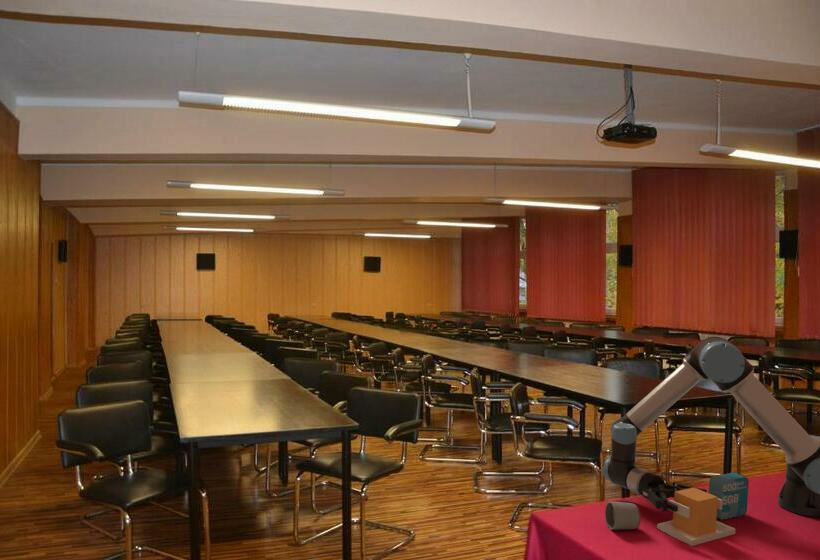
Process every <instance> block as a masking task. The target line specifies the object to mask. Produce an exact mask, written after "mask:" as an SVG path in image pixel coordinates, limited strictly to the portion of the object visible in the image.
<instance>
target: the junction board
mask: <svg viewBox="0 0 820 560" xmlns="http://www.w3.org/2000/svg"><path fill="white" fill-rule="evenodd" d="M657 528H658V529H660V530H661V531H660V530H659V531H660V532H662V531H663V533H664V532H665V534H666V533H667V535H669V536H670V537H673V538H675V539H677V540H679V541H681V542H682V543H686V544H687V545H689V546H691V547H692V546H693V547H694V546H698V545H700V544H703V543H704V544H705V543H707V542H710V541H714V540H717V539H722V538H725V537H728V536H732V535H735V534H736V528H735V527H732V526H730V525H727V524H725V523H723V522H721V521H718V520H716V532H713V533H709V534H706V535H702V536H698V537H695V536H693V535H691V534H689V533H687V532H685V531H683V530H681V529H678V528H676V527H674V526H673V519H671V520H668V521H663V522H660V523H657V525H656V529H657ZM658 529H657V530H658Z"/></svg>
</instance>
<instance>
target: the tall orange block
mask: <svg viewBox="0 0 820 560" xmlns="http://www.w3.org/2000/svg"><path fill="white" fill-rule="evenodd" d="M692 487H693V488H689V489H684V490H680V491H675V494H674V498H673V501H675V502H677V503H680V504H682V505H684V506H687V507H689V508H690V517H689V518H686V517H684V516H682V515H680V514H677V513H675V512H673V515H672V518H673V519H672V520H673V526H674V527H676V528H678V529H681V530H683V531H685V532H687V533H689V534H691V535H693V536H695V537H698V536H702V535H706V534H709V533H713V532H716V521H717V519H718V518H717V500H718V497H717V496H714V495H712V494H709V492H708V491H707V492H704V491H701V490H699V489H696V488H697V487H696V488H694V486H692Z"/></svg>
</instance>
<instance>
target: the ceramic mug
mask: <svg viewBox="0 0 820 560" xmlns="http://www.w3.org/2000/svg"><path fill="white" fill-rule="evenodd" d="M604 509H605V510H604V519H605V523H606V526H607V528H608V527H609V528H608V529H609V530H611V531H616V530H617V531H619V530H620V531H622V530H636V529H638V528H639V527H640V525H641V521H642V520H641V518H642V517H641V515H642V514H641V511H640V508H639V506H638V505H636V504H635V503H631V502H621V501H608V502H607V503H606V505H605V508H604Z"/></svg>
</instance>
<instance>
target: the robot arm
mask: <svg viewBox="0 0 820 560" xmlns="http://www.w3.org/2000/svg"><path fill="white" fill-rule="evenodd" d="M754 372H755V367H754V366H753V365H752V363H750V362H749V360H747V358H746V357H745V356H744V354H742V352H741V350H740V349H739V348H738V347H737V346H736V345H734V344H732V343H731V342H730V341H729V340H727V339H726V338H724V337H720V336H709V337H706V338H704V339H702V340H701V341H700V342H699V343H697V344H696V345H695V346H694V348H693V349H691V350H690V352H688V353H687V354H686V355H685V356H684V357H683V358H682V363H681V364H680V365H679V366H678V367H676V368H675V370H674V371H672V372H671V373H670V374H669V375H668V376H666V377H665V379H663V380H662V381H661V382H660V383H659V384H658V385H656V387H654V388H653V389H652V390H651V391H650V392H649V393H648V394H646V396H644V397H643V398H642V399H641V400H640V401H639V402H637V404H635V405H634V406H633V407H632V408H631V409H630V410H629V411H628V412H626V414H625V415H623V416H622V417H621V418H620V417H619V418H617V419H615V420H614V422H613V423H612V425H611V427H610V433H611V434H610V435H611V444H610V446H611V447H610V448H611V449H610V457H609V458H607V459H606V460H605V461H604V463H603V466H602V469H601V471H602V475H603V477H604V479H606V480H607V481H609V482H611V483H612V484H614V485H616V486H619V487H622V488H623V489H627V490H629V491H631V492H633V493H635V494H636V495H637V496H639V495H641V496H642V498H645V499H646V500H647V501H649V502H650V503H651V504H652V505H653V506H654V508H656V510H662V512H665V513H666V512H668V510H669V511H671V512H673V513H674V512H675V513H677V514H680V515H682V516H684V517H686V518H689V517H690V508H689V507H687V506H684V505H682V504H680V503H677V502H675V501H674V494H675V491H680V490H684V489H689V488H693V487H694V486H690V485H686V484H681V483H678V482H676V481H674V482H672V484H670V483H666V482H664V481H665V480H664V479H663V478H662V476H660V475H658V474H655V473H653V472H650V471H648V470H646V469H643V468H641V467H638V466H636V453H637V440H638V436H639V435H641V433H643V431H644V430H645V429H647V428H648V427H649V426H651V424H653V423H654V422H655V421H656V420H657V419H658V418H659V417H661V416H662V415H664V413H666V411H667V410H669V408H671V407H672V406H673V405H674V404H676V402H677V401H679V400H680V399H681V398H683V396H685V395H687V393H688V392H689V391H690V390H692V389H693V388H694V387H695V386H696V385H698V384H699V382H702V381H707V380H708V379H709V380H711V381H712V382H713V383H714V384H715V385H716V386H717V388H718V389H719V390H720V391H721V392H724V393H725V392H726V393H730V394H731V396H733V397H734V399H735V400H736V401H737V402H738V403H739V404H740V405H741V406H742V408H744V410H745V411H746V412H747V413H748V414H749V415H750V416H751V417H752V419H754V420H755V422H756V423H757V424H758V425H759V426H760V428H761V429H763V431H764V432H765V433H766V434H767V435H768V436H769V437H770V438H771V439H772V441H774V442H775V444H776V445H777V446H778V447H779V448H780V449H781V450H782V451H783V453H784V454H785V463H786V466H785V470H786V471H785V480H784V483H783V485H782V487H781V490H780V492H779V493H778V498H777V503H778V506H779V507H781V509H784V510H786V511H788V512H791V513H794V514H798V515H801V516H807V517H814V518H820V436H817V435H812V434H809V433H808V432H807V431H806V430H805V429H804V428H803V426H801V425H800V424H799V422H798V421H797V420H796V418H794V417H793V415H791V414H790V413H789V412H788V411H787V410H786V408H785V407H784V406H783V405H782V404H781V402H779V400H778V399H776V398H775V396H774V395H773V394H772V393H771V392H770V391H769V390H768V389H767V388H766V386H764V384H763V383H762V382H761V381H760V380H759V379H758V378H757V377H756V376H755V373H754ZM694 488H696V489H699V490H701V491H704V492H707V493H708V490H707V489H705V488H700V487H694ZM670 498H673V499H670ZM668 499H669V500H668ZM722 503H723V500H721V499H719V498H718V500H717V509H720V510H721V509H722Z"/></svg>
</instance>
